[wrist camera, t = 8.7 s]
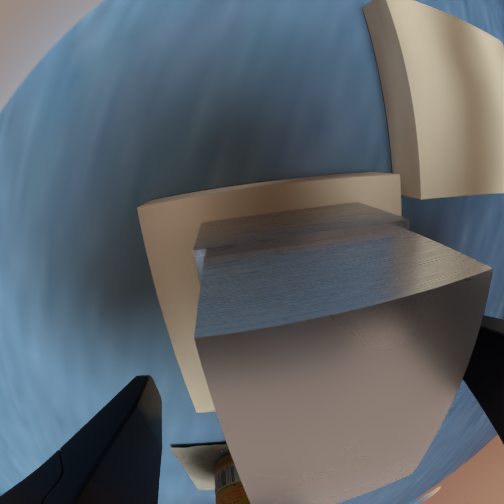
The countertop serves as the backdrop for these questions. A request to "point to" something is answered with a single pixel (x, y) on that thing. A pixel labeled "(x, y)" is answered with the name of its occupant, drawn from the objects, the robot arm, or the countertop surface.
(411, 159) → the stand
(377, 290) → the block
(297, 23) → the countertop surface
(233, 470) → the condiment
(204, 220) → the stand
